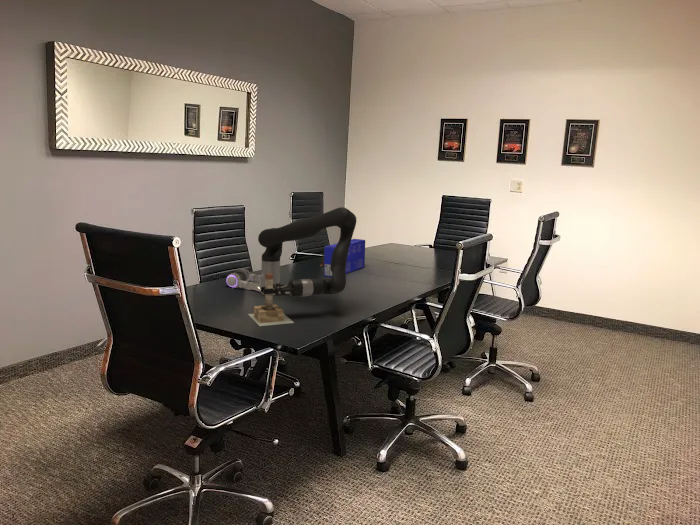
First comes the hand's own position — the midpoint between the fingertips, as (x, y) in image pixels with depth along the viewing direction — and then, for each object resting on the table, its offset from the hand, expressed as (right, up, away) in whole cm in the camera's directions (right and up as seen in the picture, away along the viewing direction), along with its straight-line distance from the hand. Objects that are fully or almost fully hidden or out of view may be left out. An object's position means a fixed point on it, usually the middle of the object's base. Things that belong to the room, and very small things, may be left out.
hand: (262, 290), depth 230 cm
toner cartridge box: (+34, +6, +108) cm, 113 cm away
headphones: (-17, -1, +61) cm, 63 cm away
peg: (+2, -9, +3) cm, 9 cm away
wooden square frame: (+2, -12, +4) cm, 13 cm away
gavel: (+22, +10, +129) cm, 131 cm away
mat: (+3, -12, +4) cm, 13 cm away
